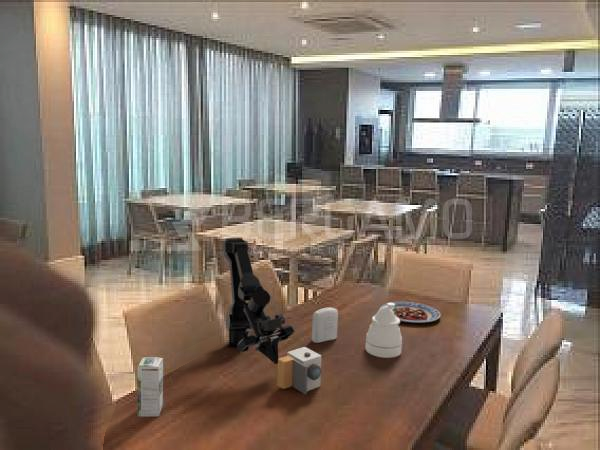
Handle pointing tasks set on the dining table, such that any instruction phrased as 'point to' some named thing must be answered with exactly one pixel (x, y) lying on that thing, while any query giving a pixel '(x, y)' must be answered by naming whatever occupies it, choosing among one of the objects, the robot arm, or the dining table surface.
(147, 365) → the syrup box
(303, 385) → the side door
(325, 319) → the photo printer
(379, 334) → the honey pot
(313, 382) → the block
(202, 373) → the dining table surface
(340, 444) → the dining table surface
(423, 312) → the ceramic plate
